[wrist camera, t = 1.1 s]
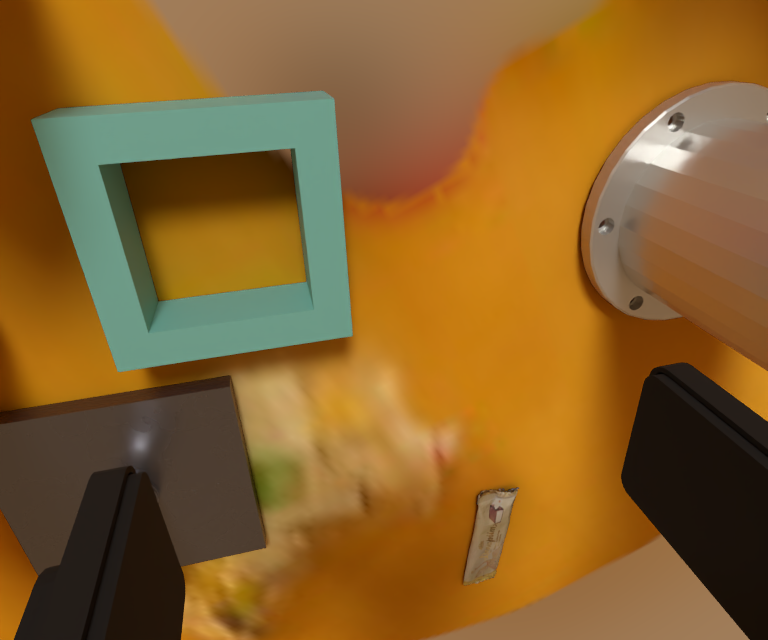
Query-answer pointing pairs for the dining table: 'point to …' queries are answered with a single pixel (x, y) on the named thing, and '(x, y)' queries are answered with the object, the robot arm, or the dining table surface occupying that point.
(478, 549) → the snack bar
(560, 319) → the dining table surface
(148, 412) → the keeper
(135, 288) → the teal square frame
